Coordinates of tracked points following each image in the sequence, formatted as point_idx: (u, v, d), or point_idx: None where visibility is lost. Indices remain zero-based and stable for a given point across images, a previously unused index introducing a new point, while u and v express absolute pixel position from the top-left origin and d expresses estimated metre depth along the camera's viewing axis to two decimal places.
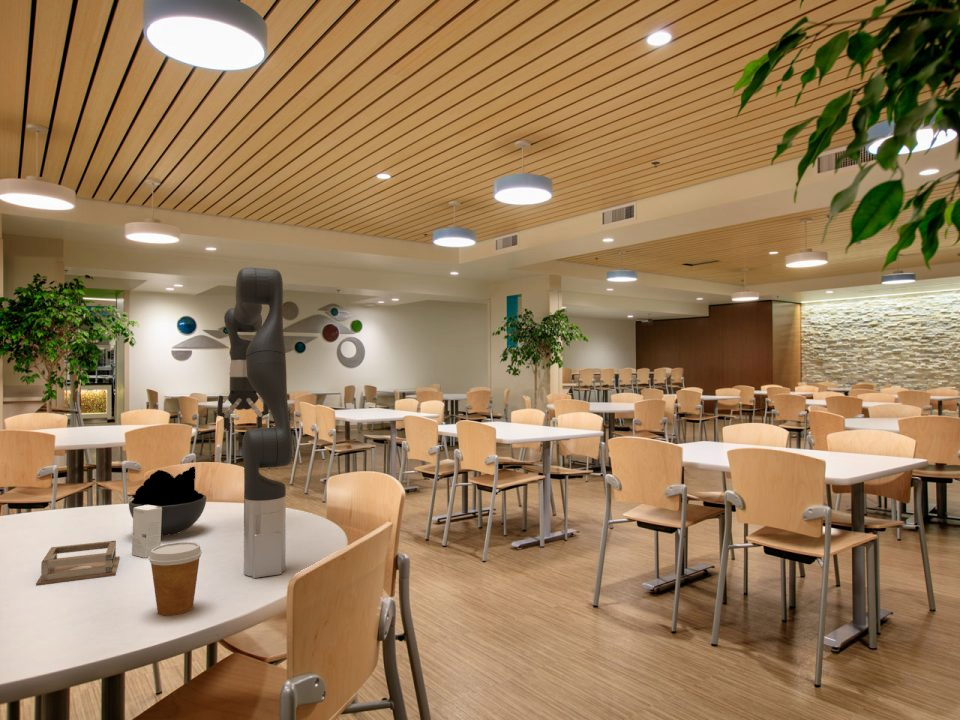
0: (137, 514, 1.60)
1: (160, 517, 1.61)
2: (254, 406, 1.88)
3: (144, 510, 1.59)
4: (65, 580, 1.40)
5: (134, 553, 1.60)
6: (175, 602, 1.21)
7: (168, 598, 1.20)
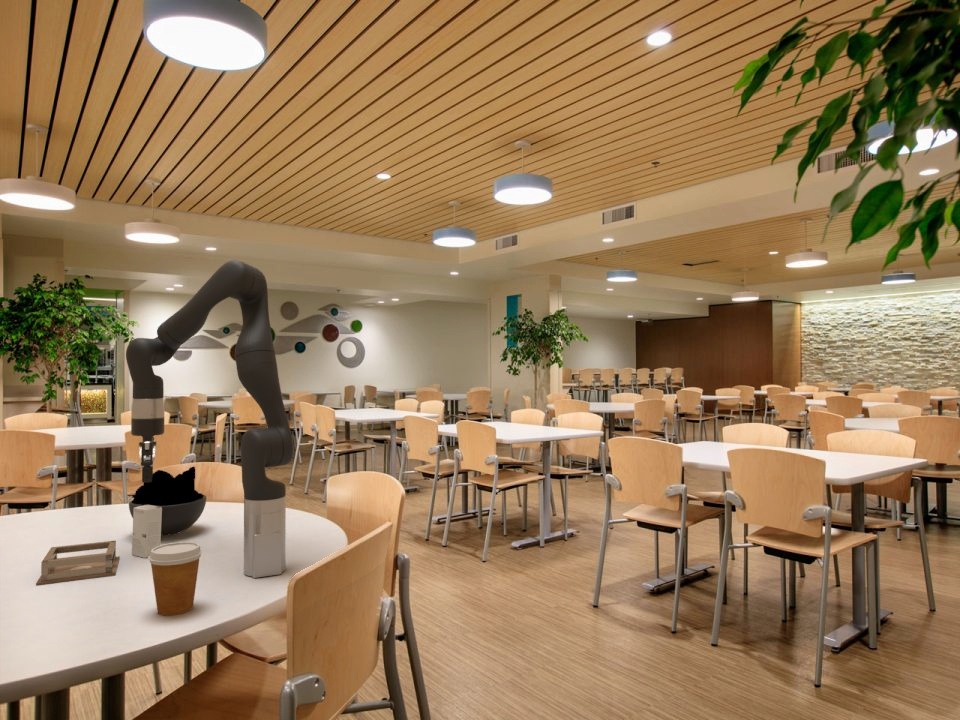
0: (137, 514, 1.60)
1: (160, 517, 1.61)
2: (155, 450, 1.65)
3: (144, 510, 1.59)
4: (65, 580, 1.40)
5: (134, 553, 1.60)
6: (175, 602, 1.21)
7: (168, 598, 1.20)
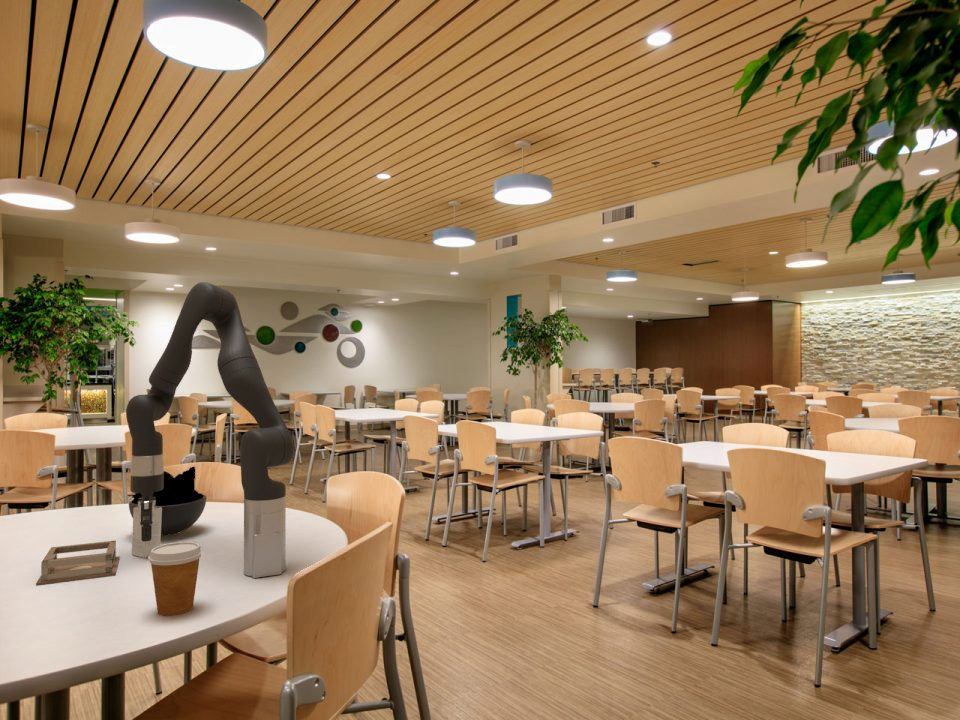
0: (137, 514, 1.60)
1: (160, 517, 1.61)
2: None
3: None
4: (65, 580, 1.40)
5: (134, 552, 1.60)
6: (175, 602, 1.21)
7: (168, 598, 1.20)
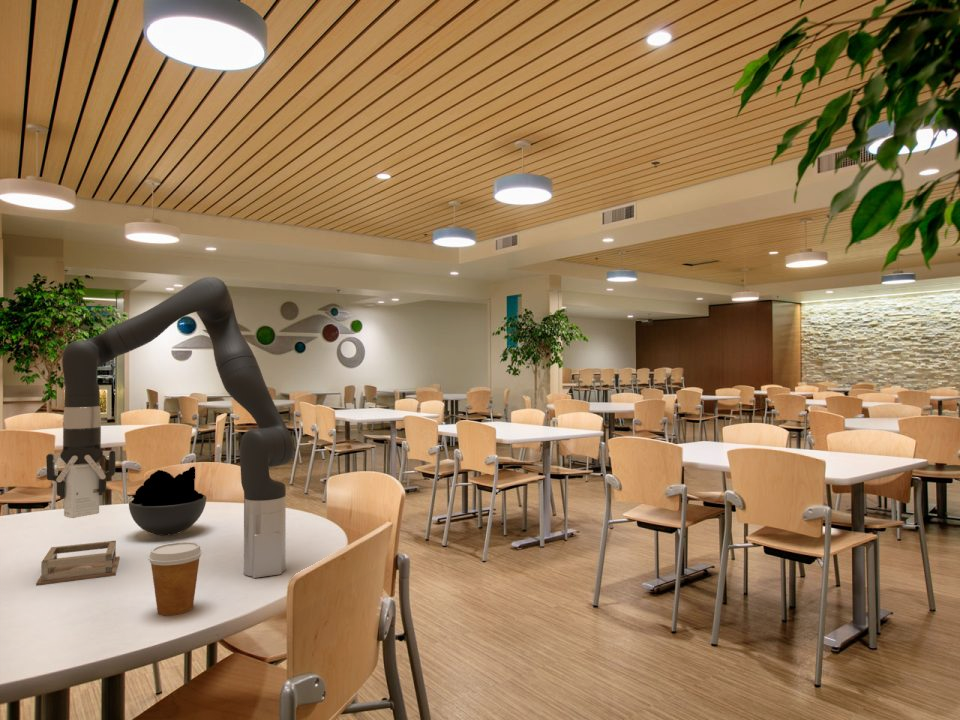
0: (81, 471, 1.47)
1: None
2: None
3: None
4: (65, 580, 1.40)
5: (79, 514, 1.46)
6: (175, 602, 1.21)
7: (168, 598, 1.20)
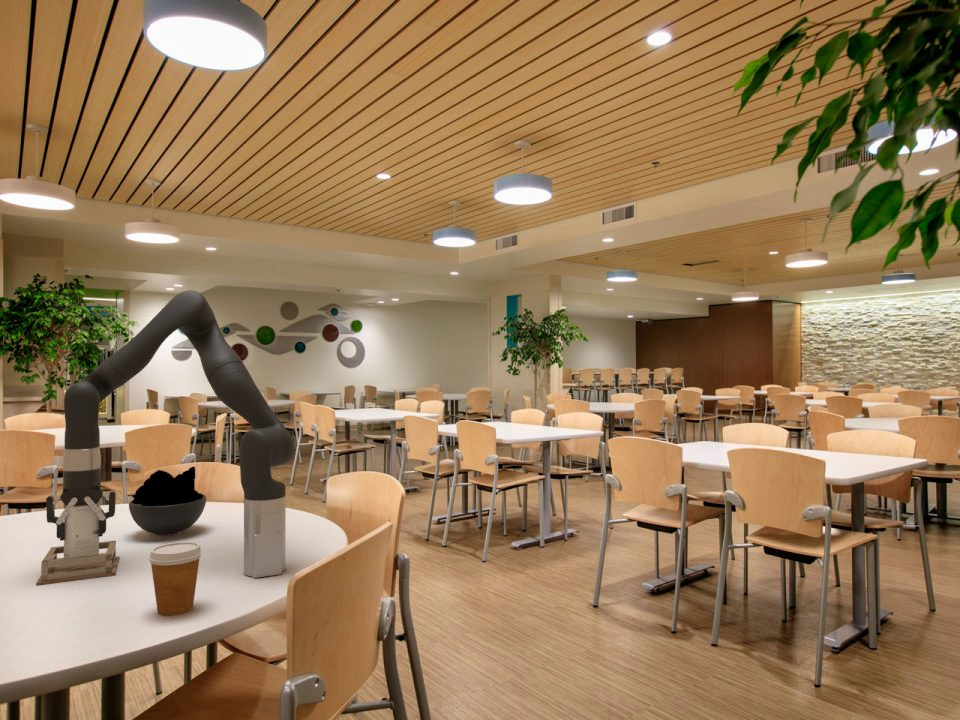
0: (81, 513, 1.46)
1: None
2: None
3: None
4: (65, 580, 1.40)
5: (79, 556, 1.46)
6: (175, 602, 1.21)
7: (168, 598, 1.20)
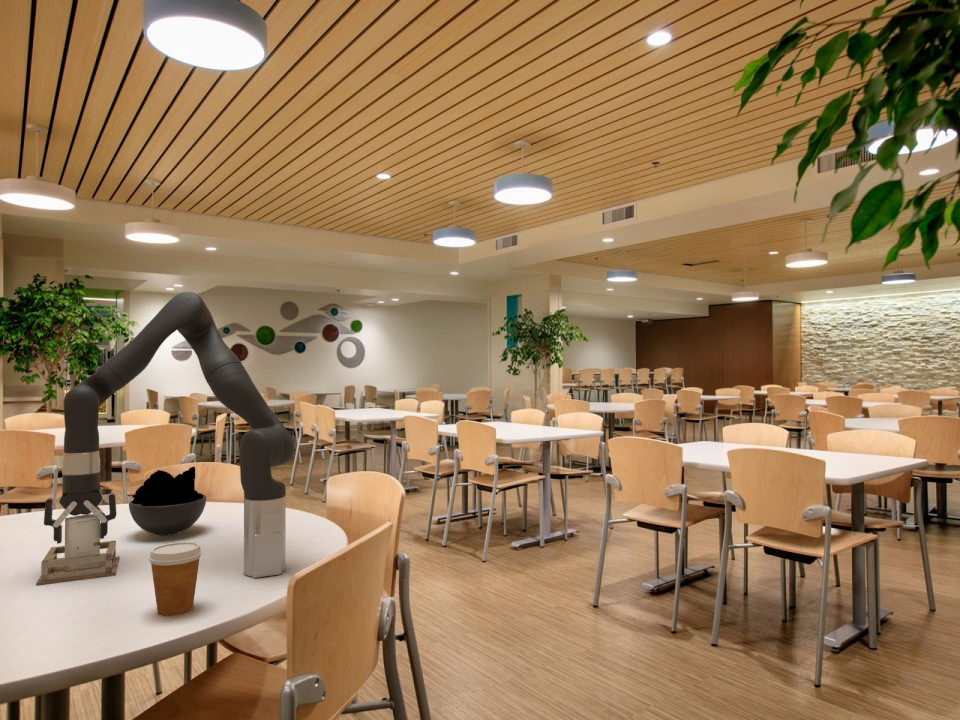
0: (81, 525, 1.46)
1: None
2: None
3: (95, 517, 1.49)
4: (65, 580, 1.40)
5: (80, 568, 1.46)
6: (175, 602, 1.21)
7: (168, 598, 1.20)
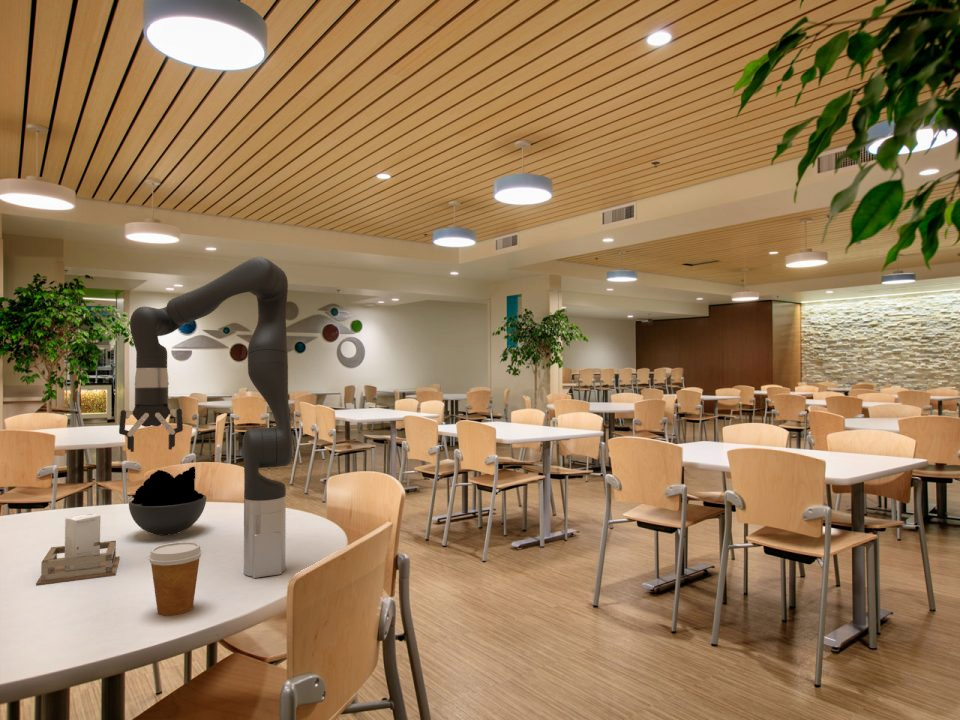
0: (81, 525, 1.46)
1: None
2: None
3: (95, 517, 1.49)
4: (65, 580, 1.40)
5: (80, 568, 1.46)
6: (175, 602, 1.21)
7: (168, 598, 1.20)
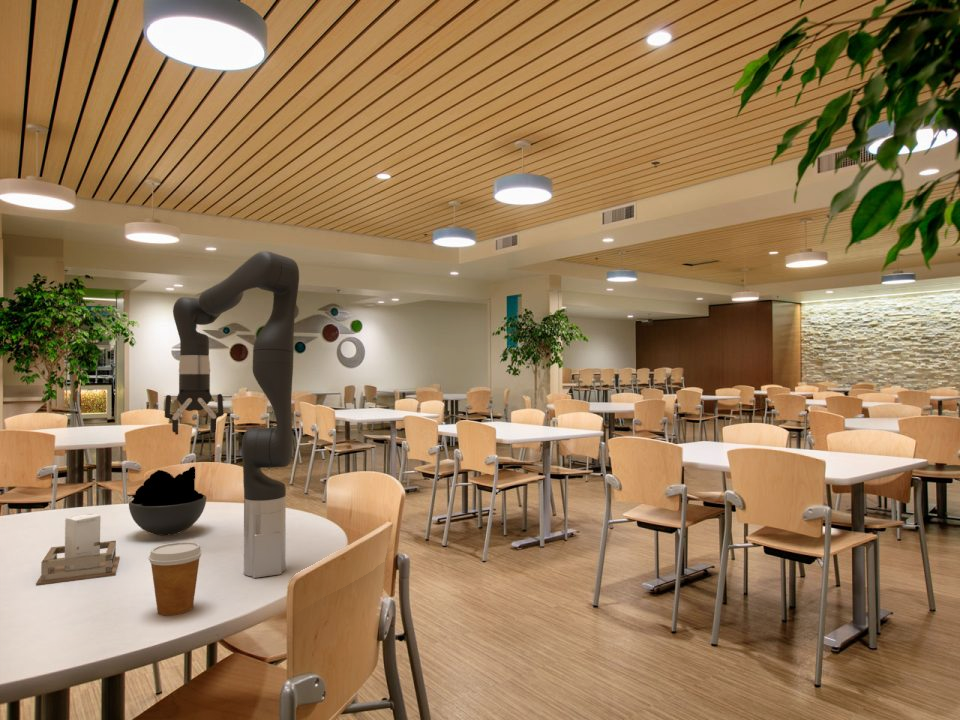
0: (82, 525, 1.46)
1: None
2: None
3: (95, 517, 1.49)
4: (65, 580, 1.40)
5: (80, 568, 1.46)
6: (175, 602, 1.21)
7: (168, 598, 1.20)
